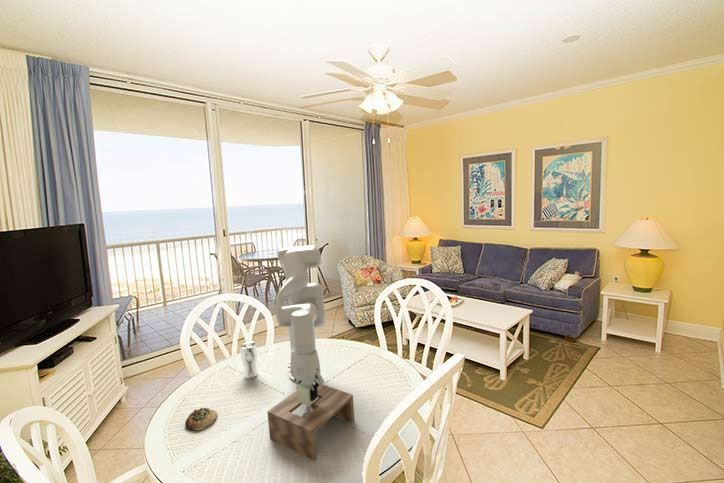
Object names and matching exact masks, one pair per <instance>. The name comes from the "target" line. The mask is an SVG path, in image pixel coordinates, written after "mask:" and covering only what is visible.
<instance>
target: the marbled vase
mask: <svg viewBox="0 0 724 483" xmlns="http://www.w3.org/2000/svg"><path fill="white" fill-rule="evenodd" d="M240 358H241V362H242V365H243V367H244V368H243V370H244V371H243V372H244V374H243V377H244V378H245V379H253V378H256V377H257V376H258V374H259V373H258V369H257V361H258V360H257V358H258V351H257V345H256V342H254V341H246V342H244V343H242V344H241V345H240ZM255 376H256V377H255Z"/></svg>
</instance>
